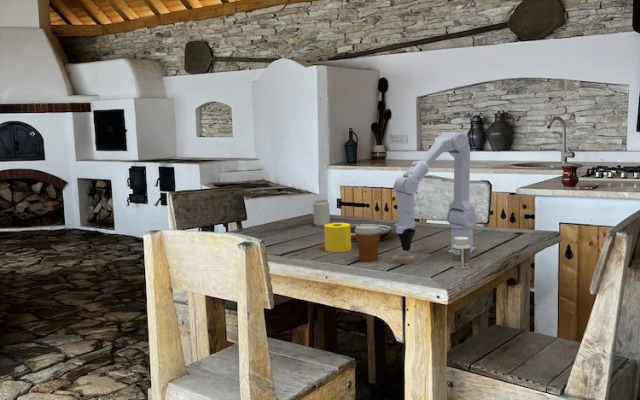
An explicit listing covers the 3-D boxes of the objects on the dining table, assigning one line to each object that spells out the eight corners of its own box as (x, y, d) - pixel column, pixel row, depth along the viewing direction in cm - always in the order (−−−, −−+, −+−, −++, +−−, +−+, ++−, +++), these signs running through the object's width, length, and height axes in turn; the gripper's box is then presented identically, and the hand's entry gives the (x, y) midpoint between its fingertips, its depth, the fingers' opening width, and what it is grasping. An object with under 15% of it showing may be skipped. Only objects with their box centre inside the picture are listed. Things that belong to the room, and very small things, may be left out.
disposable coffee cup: (359, 256, 223) (358, 223, 222) (385, 257, 220) (384, 224, 218) (351, 262, 214) (350, 228, 213) (377, 263, 211) (377, 229, 209)
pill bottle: (467, 265, 205) (467, 235, 204) (472, 269, 199) (472, 239, 198) (450, 265, 205) (450, 236, 204) (455, 270, 199) (455, 240, 198)
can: (312, 224, 293) (311, 199, 292) (327, 223, 295) (326, 198, 294) (316, 227, 286) (315, 201, 284) (331, 225, 288) (331, 200, 287)
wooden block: (397, 253, 216) (392, 256, 212) (416, 255, 213) (411, 258, 209) (397, 258, 216) (392, 261, 212) (416, 259, 213) (411, 262, 209)
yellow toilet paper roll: (321, 248, 239) (320, 224, 238) (344, 245, 243) (344, 222, 242) (330, 253, 230) (330, 228, 229) (355, 250, 234) (354, 225, 232)
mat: (400, 253, 226) (400, 251, 226) (432, 255, 221) (432, 254, 221) (385, 262, 212) (385, 261, 212) (418, 265, 207) (418, 264, 207)
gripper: (401, 208, 220) (402, 245, 221) (387, 214, 207) (388, 253, 209) (420, 209, 217) (421, 246, 218) (407, 215, 204) (407, 255, 206)
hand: (406, 250), depth 213 cm, fingers closed
